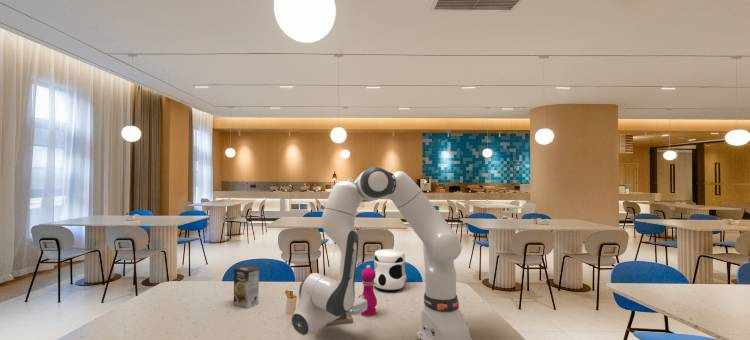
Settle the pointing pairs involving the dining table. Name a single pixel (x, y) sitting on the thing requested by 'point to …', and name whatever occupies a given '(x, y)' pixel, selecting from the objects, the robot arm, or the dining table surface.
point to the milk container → (389, 269)
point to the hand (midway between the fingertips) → (352, 294)
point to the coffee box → (246, 286)
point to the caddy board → (342, 320)
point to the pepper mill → (369, 291)
